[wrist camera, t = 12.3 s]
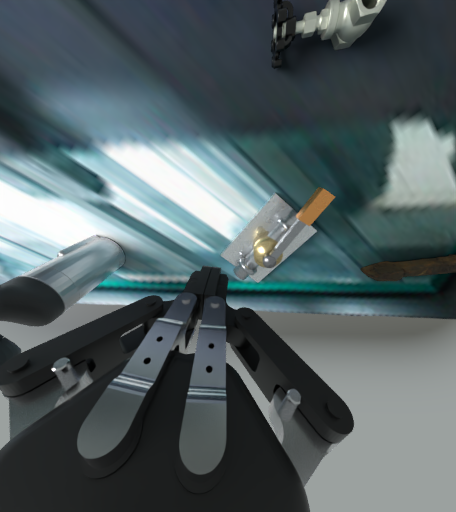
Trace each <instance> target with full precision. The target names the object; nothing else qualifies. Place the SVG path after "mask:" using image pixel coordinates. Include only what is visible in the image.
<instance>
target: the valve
mask: <svg viewBox="0 0 456 512" xmlns="http://www.w3.org/2000/svg"><path fill="white" fill-rule="evenodd" d="M385 2H386V0H345V1H343V2H340V1H339V0H329V1H328V3H327V5H326V7H325V9H323V10H322V11H321V13H320V15H318V16H317V15H316V11H314V12H310V13H306V14H305V15H304V17H303V20H302V21H298V22H296V16H293V6H292V4H291V3H290V2H289V1H282V0H274V14H273V15H272V29H273V40H272V41H271V52H273V56H272V68H274V69H275V68H280V67H281V64H282V59H279V55H280V52H281V51H284V49H287V48H288V47H289V46H290V44H291V41H293V40H294V38H295V35H296V34H300V33H301V37H302V38H306V37H311V36H312V35H313V33H314V31H317V33H318V35H320V34H321V40H326V39H330V38H331V41H332V44H333V47H334V50H339V49H344V48H348V47H350V46H351V45H352V44H353V42H354V41H355V40H356V39H357V38H359V37H360V36H361V35H362V34H363V33H364V32H365V31H366V30H367V29H368V28H369V26H370V25H371V23H372V22H373V20H374V18H375V17H376V16H377V15H378V14H379V12H380V11H381V9H382V7H383V6H384V4H385ZM287 9H288V18H286V17H287Z"/></svg>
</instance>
